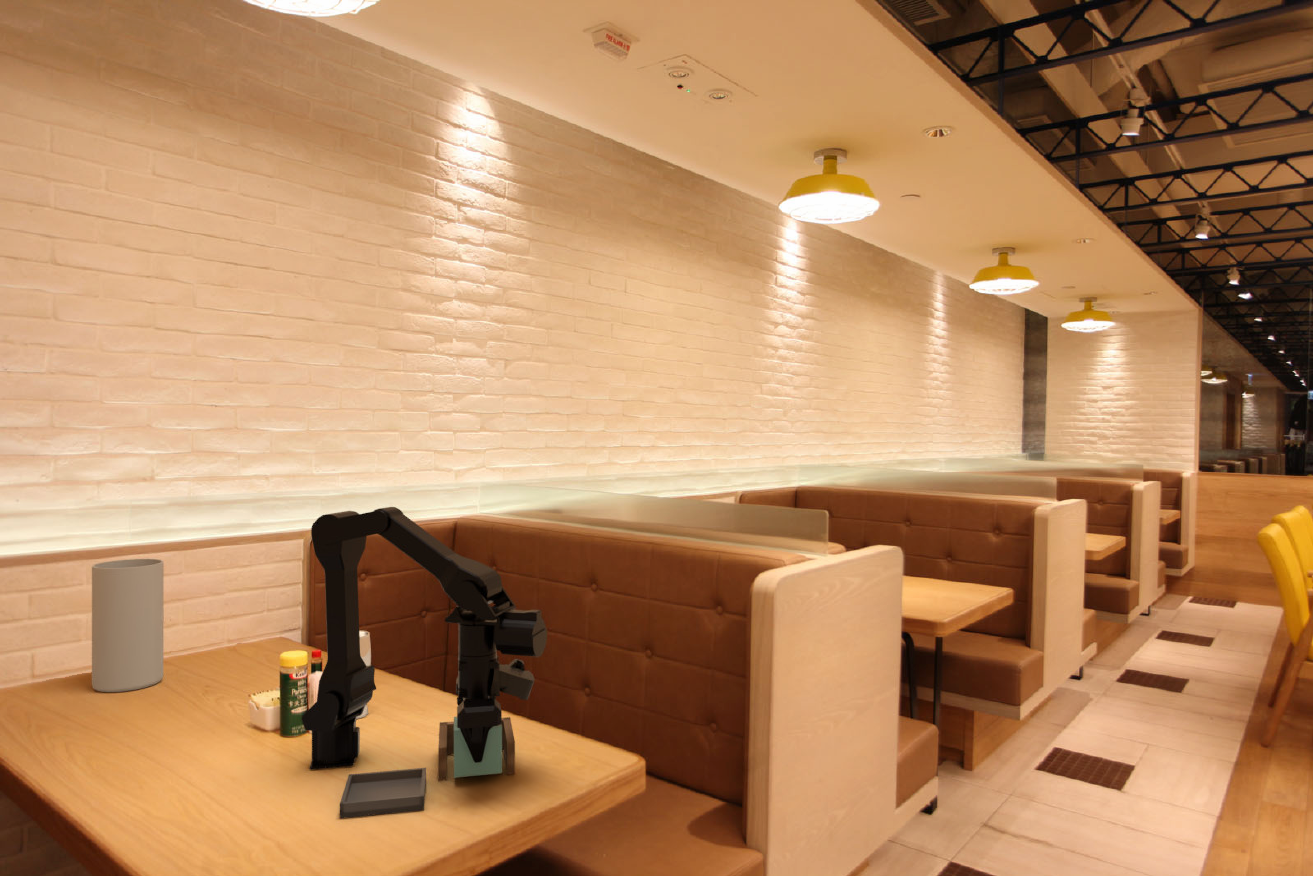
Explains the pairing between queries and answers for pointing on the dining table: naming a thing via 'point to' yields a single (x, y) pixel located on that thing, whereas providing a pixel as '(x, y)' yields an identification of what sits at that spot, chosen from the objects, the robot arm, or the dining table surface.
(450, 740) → the frame
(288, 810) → the dining table surface
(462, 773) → the teal block
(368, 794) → the gray tray
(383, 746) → the dining table surface
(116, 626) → the cylinder vase
